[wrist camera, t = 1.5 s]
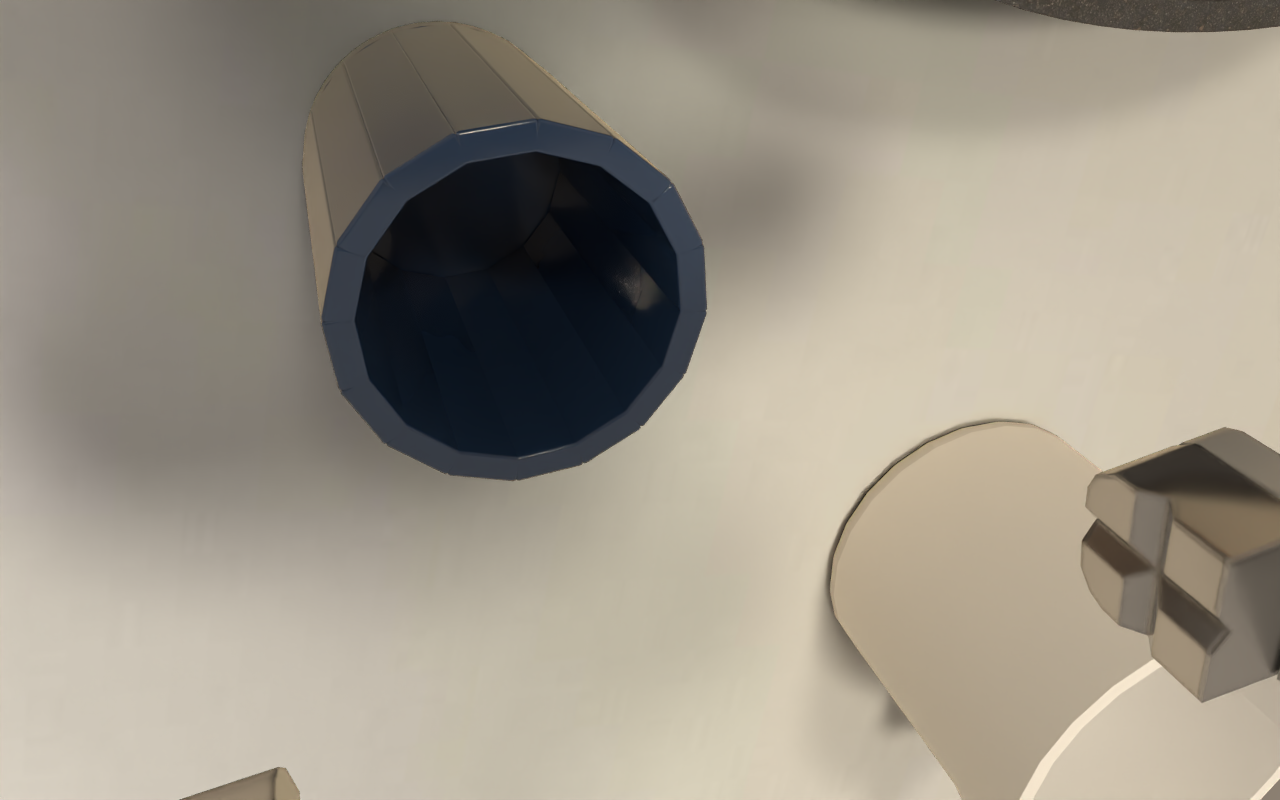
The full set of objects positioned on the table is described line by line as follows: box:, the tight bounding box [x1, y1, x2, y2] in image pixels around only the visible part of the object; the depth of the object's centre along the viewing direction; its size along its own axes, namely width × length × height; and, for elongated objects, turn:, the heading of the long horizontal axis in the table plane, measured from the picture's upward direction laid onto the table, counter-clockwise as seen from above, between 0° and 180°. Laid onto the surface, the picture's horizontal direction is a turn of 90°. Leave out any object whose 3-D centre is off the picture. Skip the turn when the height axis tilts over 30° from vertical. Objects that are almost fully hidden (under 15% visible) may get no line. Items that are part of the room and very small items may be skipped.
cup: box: [302, 21, 707, 481], centre depth 20 cm, size 6×6×9 cm
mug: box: [830, 422, 1280, 800], centre depth 32 cm, size 13×10×10 cm
